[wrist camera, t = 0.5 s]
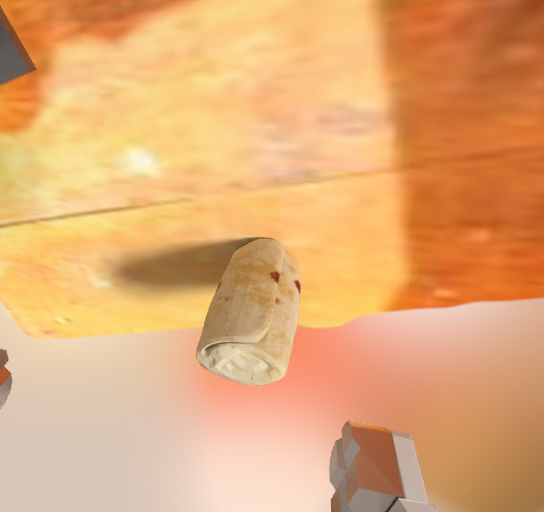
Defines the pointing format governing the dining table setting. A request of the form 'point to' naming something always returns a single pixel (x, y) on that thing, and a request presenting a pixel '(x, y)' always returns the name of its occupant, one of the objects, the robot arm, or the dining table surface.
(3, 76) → the stand base
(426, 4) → the dining table surface
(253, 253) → the food model
